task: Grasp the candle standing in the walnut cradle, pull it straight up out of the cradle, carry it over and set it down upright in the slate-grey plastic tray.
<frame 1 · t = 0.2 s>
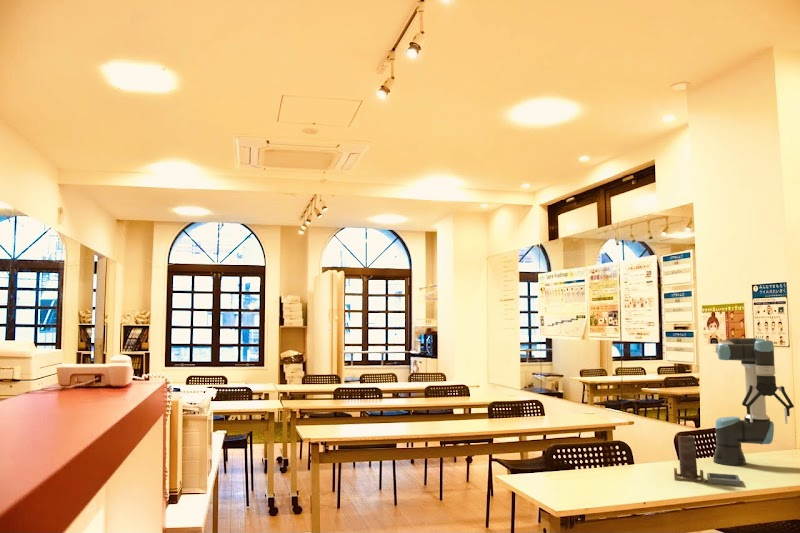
hand: (768, 422, 288), 28 cm above the table, fingers open, 13 cm apart
tray: (723, 481, 294), on the table
candle: (688, 479, 301), resting in cradle
cradle: (688, 478, 301), on the table
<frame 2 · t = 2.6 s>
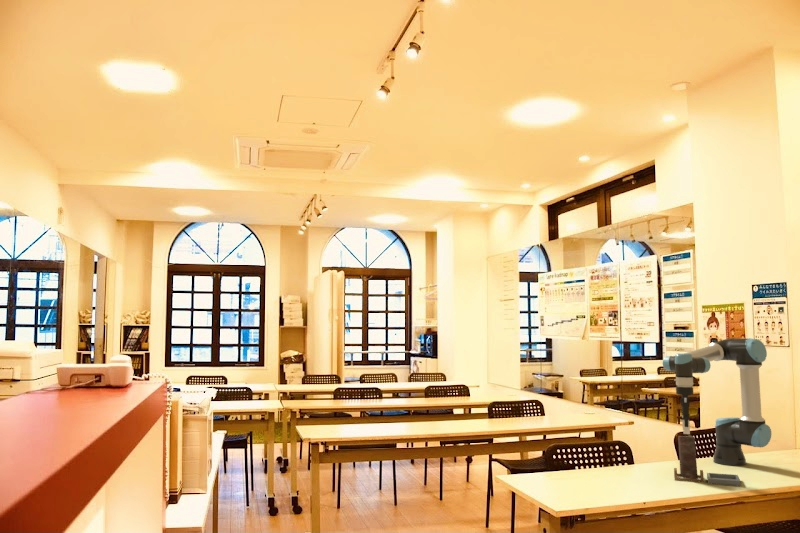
hand: (686, 431, 302), 22 cm above the table, fingers open, 13 cm apart
nothing on the table moved.
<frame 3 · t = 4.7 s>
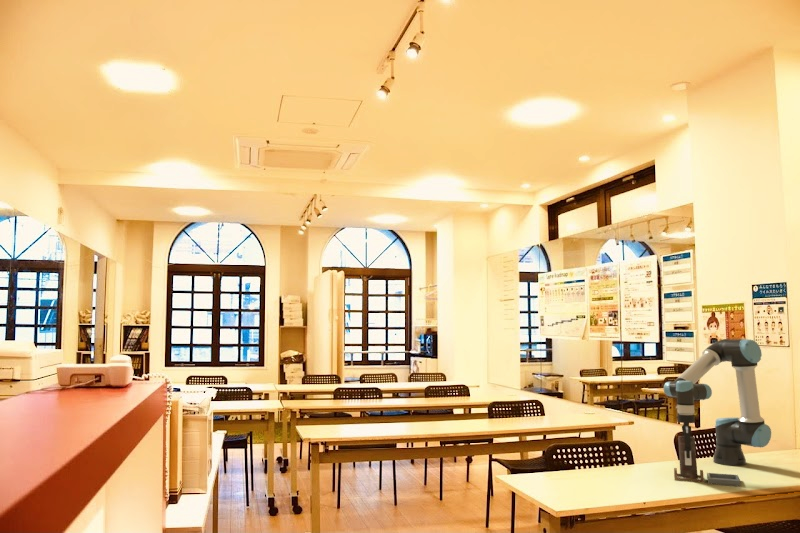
hand: (688, 463, 301), 7 cm above the table, fingers closed on candle, 7 cm apart
candle: (688, 479, 301), resting in cradle, touching gripper
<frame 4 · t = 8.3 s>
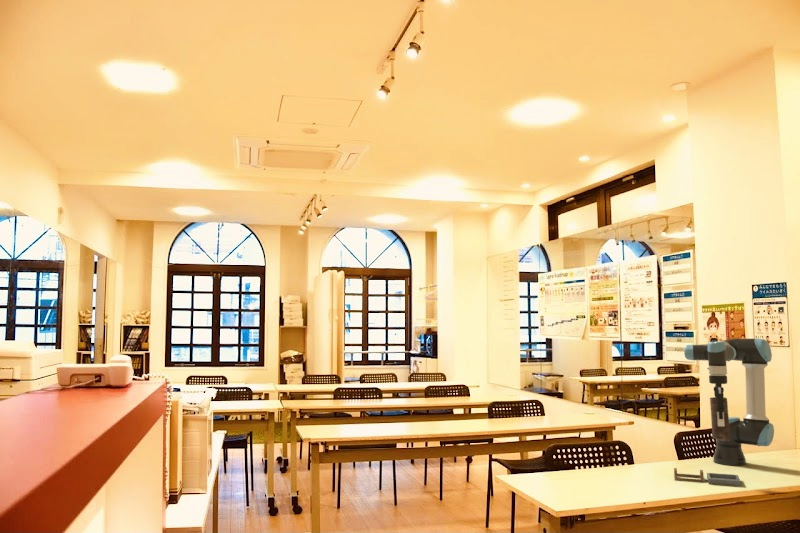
hand: (720, 424, 297), 26 cm above the table, fingers closed on candle, 7 cm apart
candle: (721, 441, 296), point 18 cm above the table, touching gripper
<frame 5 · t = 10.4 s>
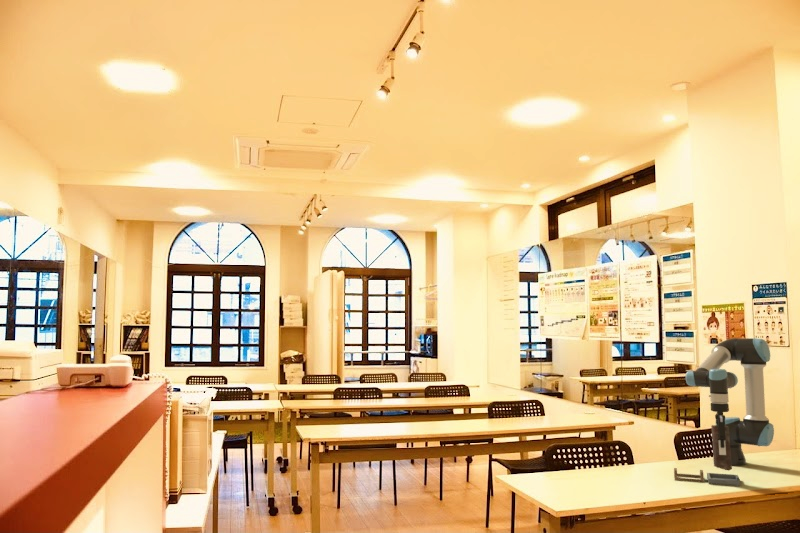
hand: (721, 453, 295), 13 cm above the table, fingers closed on candle, 7 cm apart
candle: (722, 469, 295), point 6 cm above the table, touching gripper
when the fingers open (9 cm above the table, at t = 12.1 s): candle drops 1 cm, resting on tray.
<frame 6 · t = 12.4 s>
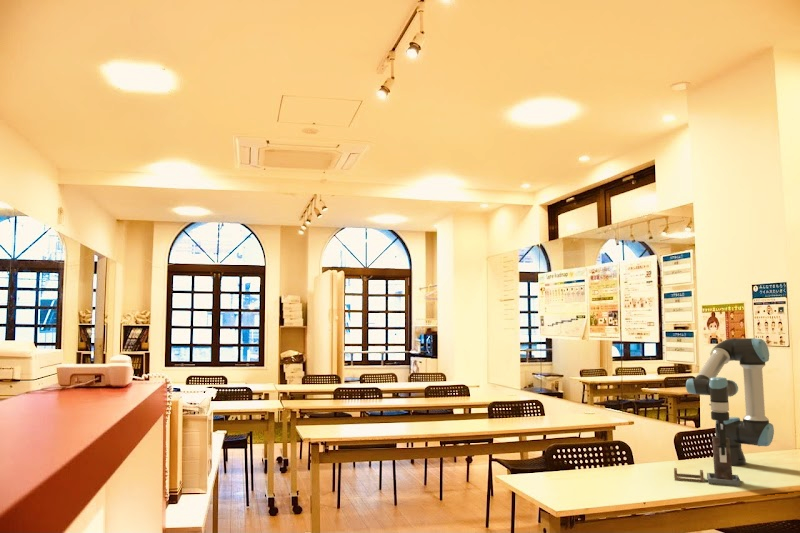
hand: (722, 459, 295), 10 cm above the table, fingers open, 11 cm apart
candle: (723, 481, 294), resting on tray
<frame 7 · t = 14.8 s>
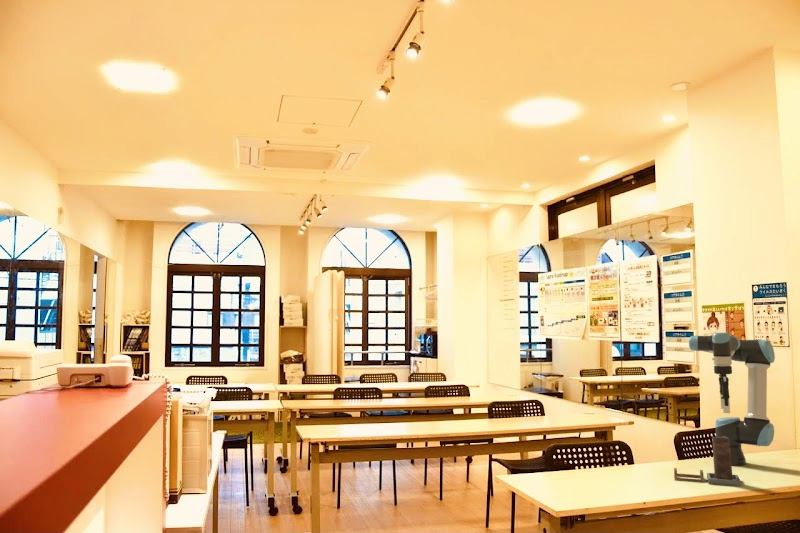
hand: (725, 410, 301), 32 cm above the table, fingers open, 13 cm apart
nothing on the table moved.
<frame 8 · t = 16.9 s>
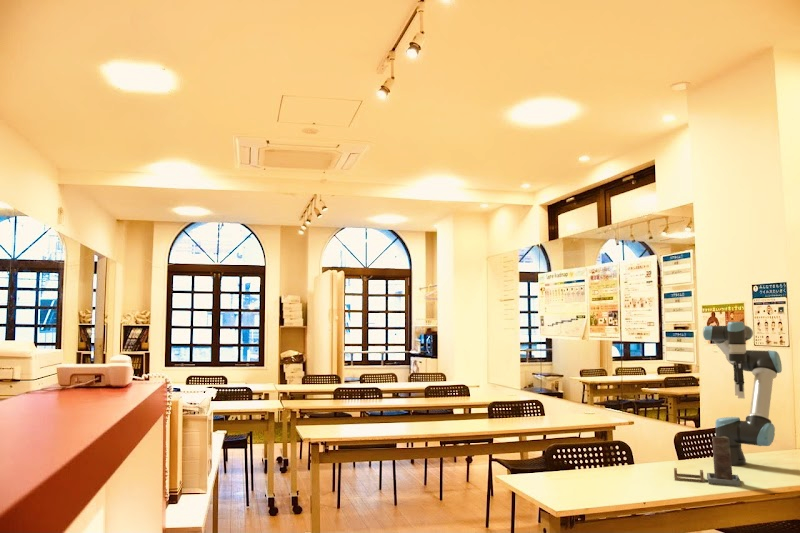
hand: (739, 397, 313), 37 cm above the table, fingers open, 13 cm apart
nothing on the table moved.
at the end: candle inside the target area on the tray (0.2 cm from its centre), point 0.4 cm above the tray's base; candle tilted 0°; the gripper is holding nothing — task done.
